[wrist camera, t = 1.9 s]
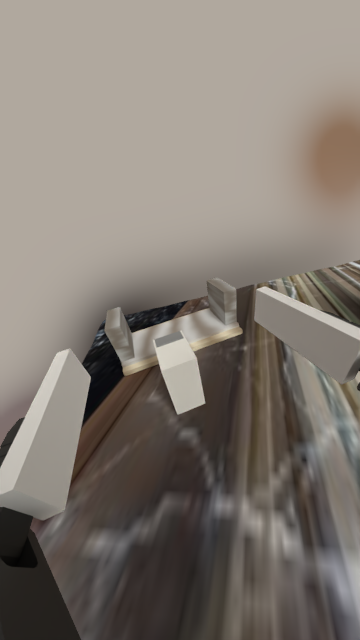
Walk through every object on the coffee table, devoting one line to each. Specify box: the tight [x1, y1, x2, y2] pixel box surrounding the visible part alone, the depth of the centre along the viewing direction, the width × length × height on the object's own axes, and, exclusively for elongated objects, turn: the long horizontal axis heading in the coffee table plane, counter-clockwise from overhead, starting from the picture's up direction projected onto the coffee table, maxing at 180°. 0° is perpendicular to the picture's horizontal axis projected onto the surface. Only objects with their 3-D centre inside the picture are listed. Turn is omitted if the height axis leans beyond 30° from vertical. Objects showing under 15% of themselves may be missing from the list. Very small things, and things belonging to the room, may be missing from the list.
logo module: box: [153, 331, 205, 415], centre depth 28 cm, size 5×7×11 cm
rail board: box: [105, 278, 242, 376], centre depth 42 cm, size 29×14×11 cm, turn 107°
